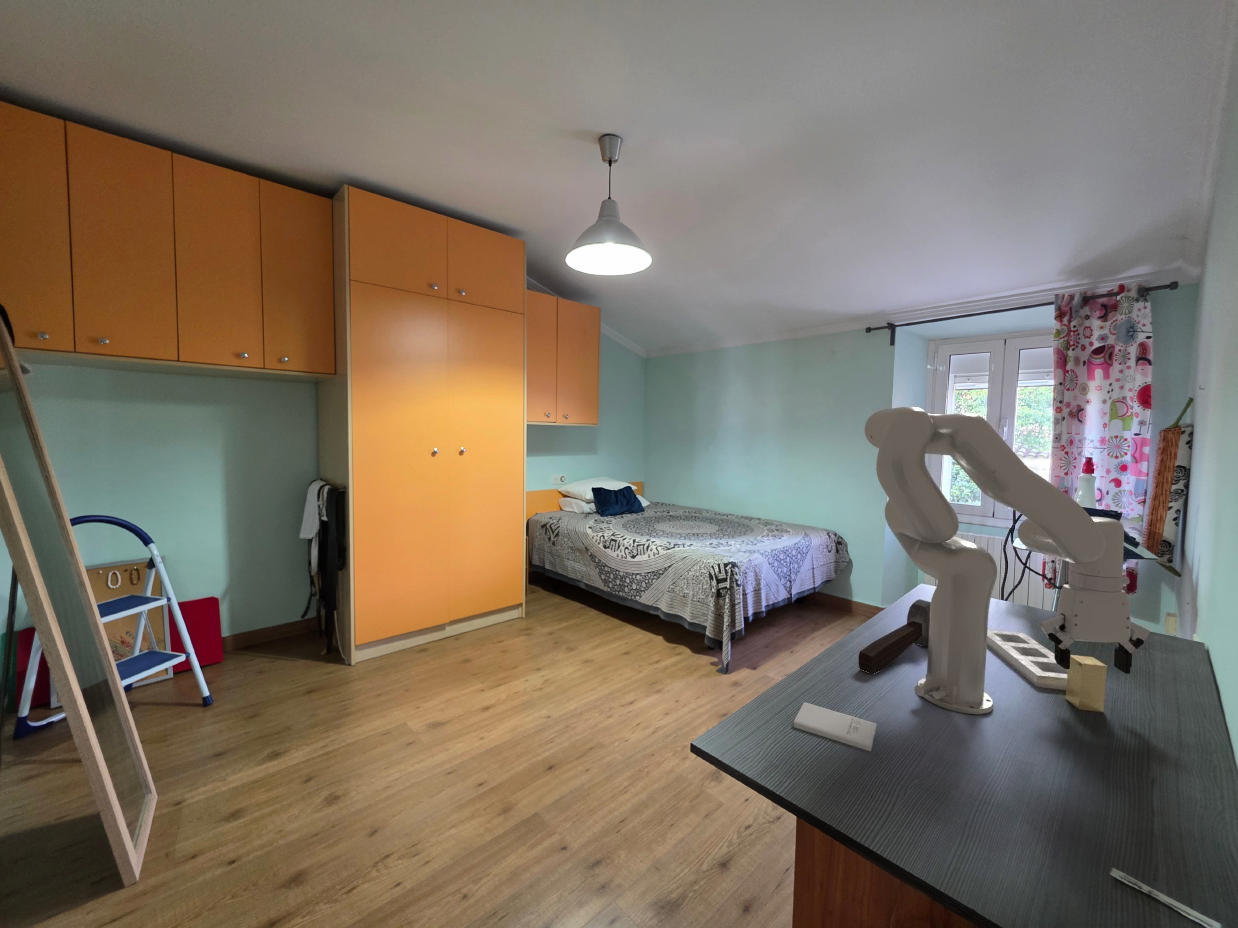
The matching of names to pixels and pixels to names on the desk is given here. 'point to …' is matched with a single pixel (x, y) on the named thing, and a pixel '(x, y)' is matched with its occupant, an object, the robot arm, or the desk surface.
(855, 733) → the external hard drive
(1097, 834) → the desk surface
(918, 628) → the hammer
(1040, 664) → the white flat frame
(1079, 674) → the brass peg
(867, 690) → the desk surface
